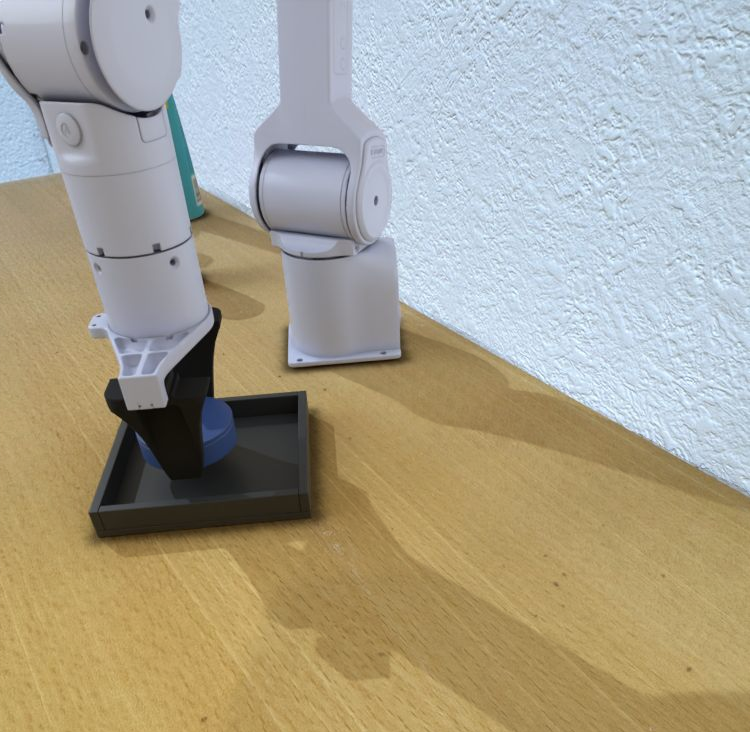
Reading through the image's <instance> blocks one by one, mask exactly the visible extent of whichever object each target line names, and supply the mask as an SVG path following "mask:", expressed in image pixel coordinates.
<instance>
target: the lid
mask: <svg viewBox="0 0 750 732" xmlns="http://www.w3.org/2000/svg"><path fill="white" fill-rule="evenodd" d="M216 398H217V397H214V398H213V397H207V396H206V398H205V402H204V405H203V411H202V434H203V445H204V467H205V466H208V465H211V464H213V463H215V462H217V461H219V460H220V459H222V458H223V457H225V456H226V455H227V454H228V453H229V452H230V451H231V450H232V449H233V447H234V445H235V443H236V440H237V433H236V428H235V424H234V419H233V414H232V410H231V408H230V407H229V406H228V405H227V404H226V403H225V402H223V401H221V400H219V399H216ZM135 433H136V432H135ZM136 436H137V439H138V442H139V446H140V449H141V452H142V455H143V457H144V459H145V460H146V461H147V463H149V464H150V465H151V466H153V467H155V468H158V469H161V470H163V469H162V467H161V466H160V464H159V463H158V461H157V460H156V458H155V457H154V455H153V453H152V452H151V450H150V449H149V448H148V446H147V445H146V443H145V442H144V441H143V439H142V438H141V437H140V436H139V435H138V434H137V433H136Z"/></svg>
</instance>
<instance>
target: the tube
mask: <svg viewBox="0 0 750 732" xmlns="http://www.w3.org/2000/svg"><path fill="white" fill-rule="evenodd" d="M165 105H166V110H167V115H168V119H169V124H170V129H171V134H172V138H173V143H174V148H175V153H176V158H177V162H178V167H179V172H180V177H181V181H182V186H183V191H184V196H185V200H186V205H187V210H188V214H189V219H190V221H191V220H195V219H198V218H200V217H202V216H203V215H204V214H205V208H204V204H203V199H202V195H201V191H200V188H199V184H198V179H197V175H196V172H195V169H194V164H193V160H192V157H191V153H190V149H189V145H188V142H187V137H186V135H185V132H184V128H183V124H182V120H181V117H180V114H179V111H178V107H177V104H176V101H175V98H174V94H173V93H172V94H171V96H170V97H169V99H168V100H167V101H166V102H165Z"/></svg>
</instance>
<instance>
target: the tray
mask: <svg viewBox="0 0 750 732" xmlns="http://www.w3.org/2000/svg"><path fill="white" fill-rule="evenodd" d="M215 398H216V399H219V400H221V401H223V402H225V403H226V404H227V405H228V406H229V407H230V408H231V410H232V414H233V419H234V424H235V428H236V433H237V440H236V443H235V445H234V447H233V449H232V450H231V451H230V452H229V453H228V454H227V455H226V456H225V457H223V458H222V459H220V460H219V461H217V462H215V463H213V464H211V465H208V466H205V467H204V468H203V475H202V477H201V478H192V479H181V480H170V479H169V477H168V476H167V475H166V473H165V472H164V470H161V469H158V468H155V467H153V466H151V465H150V464H149V463H147V461H146V460H145V459H144V457H143V455H142V452H141V449H140V446H139V442H138V439H137V436H136V433H135V431H134V430H133V429H132V428H131V427H130V426H129V425H128V424H127V423H126V422H124V421H123V420H122V419H121V420H120V424H119V426H118V429H117V432H116V434H115V437H114V440H113V442H112V445H111V448H110V452H109V454H108V457H107V459H106V463H105V465H104V468H103V471H102V473H101V476H100V479H99V481H98V485H97V486H96V487H97V488H96V491H95V493H94V495H93V499H92V501H91V503H90V507H89V510H88V516H89V518H90V521H91V523H92V525H93V528H94V530H95V533H96V536H97V537H98V538H104V537H105V538H106V537H116V536H126V535H127V536H128V535H137V534H150V533H157V532H158V533H159V532H160V533H161V532H169V531H181V530H192V529H202V528H212V527H224V526H234V525H244V524H256V523H266V522H276V521H288V520H299V519H309V518H312V516H313V515H312V483H311V482H312V481H311V438H310V437H311V436H310V410H309V403H308V394H307V390H299V391H298V390H294V391H283V392H282V391H281V392H272V393H261V394H260V393H259V394H248V395H247V394H246V395H237V396H225V397H215Z"/></svg>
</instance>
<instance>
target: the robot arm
mask: <svg viewBox="0 0 750 732" xmlns="http://www.w3.org/2000/svg"><path fill="white" fill-rule="evenodd" d="M181 5H182V3H181V1H180V0H0V73H1V75H2V77H3V78H4V80H5V81H6V82H7V84H8V85H9V86H10V88H11V89H12V90H13V91H14V92H15V93H16V94H17V95H18V96H19V97H20V98H21V99H22V100H23V101H24V102H25V103H26V104H27V105H28V107H29V108H30V110H31V112H32V113H33V116H34V118H35V121H36V124H37V127H38V130H39V134H40V137H41V139H45V140H47V143H48V145H49V146H50V147H51V148H52V149H53V151H54V155H55V158H56V161H57V164H58V167H59V170H60V174H61V177H62V180H63V183H64V186H65V190H66V192H67V195H68V199H69V203H70V206H71V209H72V212H73V215H74V218H75V222H76V224H77V225H76V226H77V228H78V231H79V235H80V238H81V241H82V245H83V248H84V249H85V253H86V256H87V259H88V263H89V266H90V270H91V273H92V276H93V278H94V282H95V285H96V288H97V291H98V295H99V298H100V301H101V304H102V307H103V311H104V312H101V313H96V314H95V315H93V316H92V317H91V320H90V321H89V323H88V325H87V328H88V332H89V335H90V337H91V338H92V339H98V340H99V339H107V340H109V341H110V344H111V347H112V349H113V352H114V355H115V357H116V360H117V363H118V365H119V373H118V377H113V378H110V379H109V381H108V382H107V385H106V387H105V390H104V392H103V397H104V401H105V403H106V405H107V408H108V409H109V411H110V412H111V413H112V414H113V415H115V416H116V417H118V418H119V419H121V420H123V421H124V422H126V423H127V424H128V425H129V426H130V427H131V428H132V429H133V430H134V431H135V432H136V433H137V434H138V435H139V436H140V437H141V438H142V439H143V441H144V442H145V443H146V445H147V446H148V448H149V449H150V450H151V452H152V453H153V455H154V457H155V458H156V460H157V461H158V463H159V464H160V466H161V467H162V469H163V470H164V472H165V473H166V475H167V476H168V477H169V479H170V480H181V479H192V478H201V477H202V475H203V468H204V445H203V434H202V411H203V405H204V402H205V398H206V396H207V397H213V398H215V377H214V375H215V374H214V373H215V372H214V371H215V370H214V365H215V363H214V362H215V349H216V342H217V338H218V334H219V332H220V328H221V325H222V320H223V314H222V311H221V309H219V308H218V307H216V306H215V307H214V306H212V305H211V303H210V302H209V301H208V299H207V295H206V290H205V286H204V281H203V276H202V271H201V266H200V261H199V257H198V253H197V247H196V243H195V238H194V232H193V229H192V224H191V220H190V219H189V214H188V210H187V205H186V200H185V196H184V191H183V186H182V181H181V177H180V172H179V167H178V162H177V158H176V153H175V148H174V143H173V138H172V134H171V129H170V124H169V119H168V115H167V110H166V105H165V102H166V101H167V100H168V99H169V97H170V96H171V94H173V92H174V91H175V90H174V89H175V88H176V84H177V82H178V81H179V79H180V78H181V76H182V70H183V69H182V67H183V46H182V36H181V31H180V23H179V14H180V9H181ZM276 23H277V25H276V26H277V27H276V28H277V29H276V30H277V53H278V54H277V55H278V77H279V78H278V79H279V82H278V83H279V102H278V104H277V105H276V106H275V108H273V109H272V111H270V112H269V114H267V116H266V117H265V118H264V119H263V120H262V121H261V122H260V123H259V125H257V127H256V128H255V129H254V132H253V149H254V150H253V161H252V167H251V171H250V174H249V180H248V201H249V205H250V209H251V211H252V214H253V217H254V219H255V221H256V223H257V225H258V227H260V229H261V230H263V231H264V232H266V233H267V234H269V235H270V242H271V246H272V247H277V248H279V249H280V256H281V264H282V271H283V277H284V284H285V285H284V287H285V293H286V301H287V309H288V315H289V323H288V336H287V337H288V338H287V339H288V343H287V344H288V345H287V365H288V367H290V368H303V367H316V366H328V365H329V366H330V365H341V364H350V363H363V362H375V361H385V360H386V361H387V360H397V359H400V358H401V357H402V350H401V329H400V327H401V325H402V312H401V311H402V310H401V304H400V291H399V288H400V287H399V286H400V285H399V271H398V269H399V268H398V258H397V250H396V244H395V241H394V240H395V239H394V238H393V237H390V236H382V237H381V235H382V234H383V232H384V231H385V230H386V227H387V224H388V222H389V219H390V216H391V215H390V214H391V211H392V205H393V203H392V202H393V186H392V179H391V175H390V170H389V162H388V143H387V136H386V134H385V133H384V132H383V131H382V130H381V129H380V127H379V126H378V125H377V124H376V123H375V122H374V121H372V120H371V119H370V118H369V116H367V115H366V114H365V113H364V112H363V111H362V110H361V109H360V108H359V107H358V106H357V105H356V104H355V103H354V101H353V100H352V99H353V98H352V97H353V95H352V92H353V83H352V81H353V0H276ZM298 146H310V147H311V146H312V147H326V148H327V147H328V148H333V149H337V150H339V151H341V152H330V151H315V150H302V149H297V148H298Z"/></svg>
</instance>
